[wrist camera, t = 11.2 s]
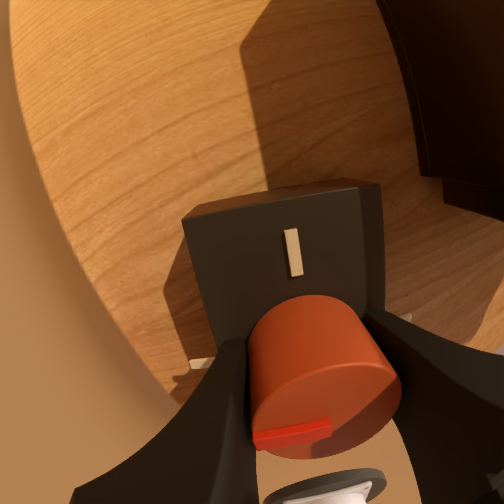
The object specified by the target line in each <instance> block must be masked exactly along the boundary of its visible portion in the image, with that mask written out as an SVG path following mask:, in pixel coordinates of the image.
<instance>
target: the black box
mask: <svg viewBox="0 0 504 504" xmlns="http://www.w3.org/2000/svg"><path fill="white" fill-rule="evenodd" d="M376 2H377V4H378V7H379V9H380V11H381V14H382V16H383V19H384V21H385V24H386V27H387V29H388V32H389V35H390V38H391V41H392V44H393V47H394V50H395V53H396V56H397V59H398V62H399V66H400V69H401V73H402V77H403V80H404V84H405V88H406V92H407V97H408V101H409V105H410V110H411V115H412V120H413V126H414V131H415V137H416V144H417V151H418V158H419V166H420V175H421V176H426V177H433V178H440V179H447V180H453V181H459V182H465V183H471V184H476V185H481V186H486V187H491V188H496V189H501V190H504V0H376Z"/></svg>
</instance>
